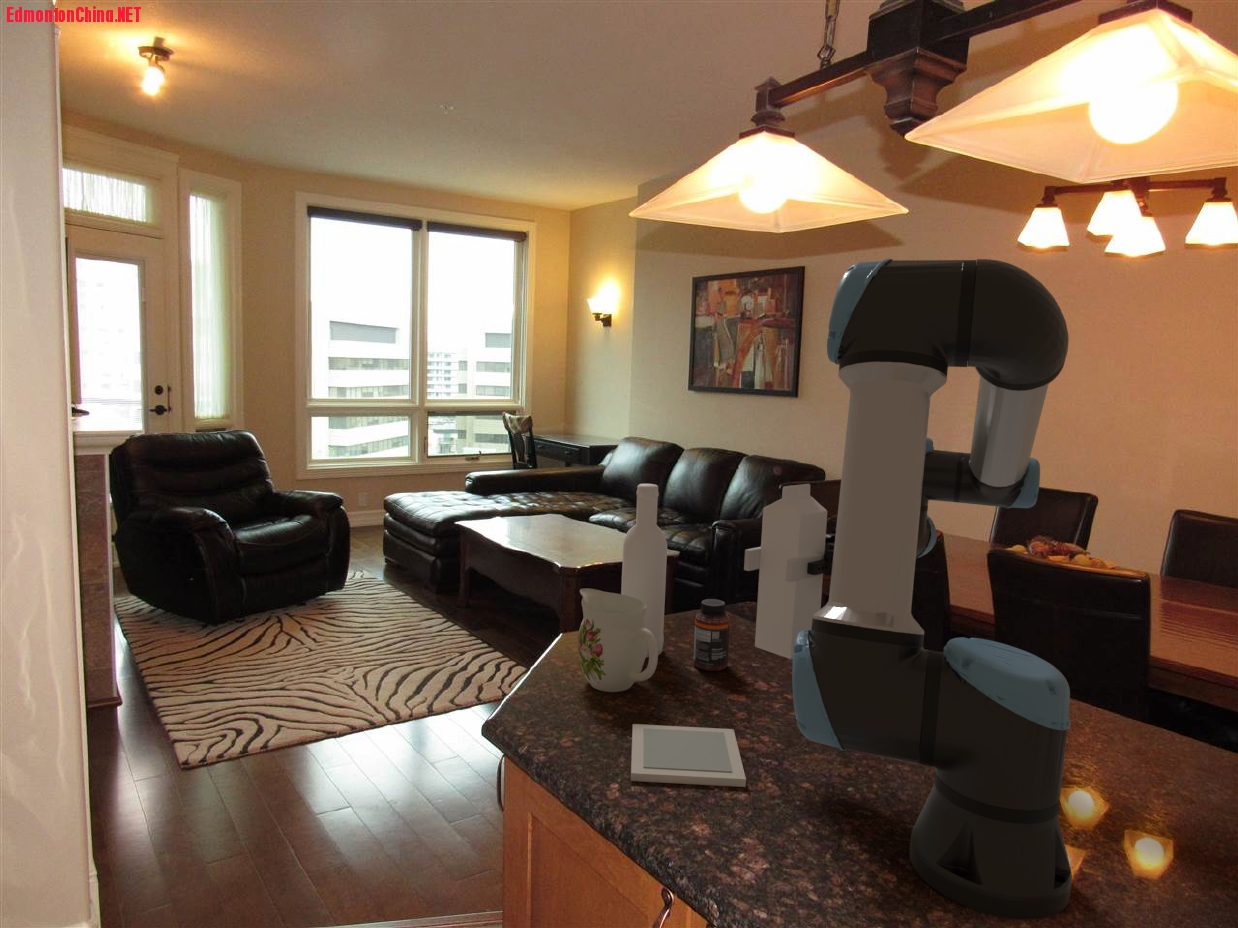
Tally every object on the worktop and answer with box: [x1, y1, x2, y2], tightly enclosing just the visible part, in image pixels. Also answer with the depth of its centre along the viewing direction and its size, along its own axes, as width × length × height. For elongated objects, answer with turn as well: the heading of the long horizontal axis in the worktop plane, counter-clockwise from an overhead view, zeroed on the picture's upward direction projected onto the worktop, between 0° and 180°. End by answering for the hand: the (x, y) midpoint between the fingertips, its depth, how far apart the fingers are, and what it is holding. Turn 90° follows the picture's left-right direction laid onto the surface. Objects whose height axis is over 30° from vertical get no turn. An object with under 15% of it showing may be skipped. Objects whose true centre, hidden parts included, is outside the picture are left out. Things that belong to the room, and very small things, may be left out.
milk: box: [754, 483, 828, 660], centre depth 108 cm, size 6×6×22 cm
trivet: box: [630, 723, 747, 788], centre depth 107 cm, size 14×14×1 cm
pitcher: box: [577, 587, 659, 693], centre depth 130 cm, size 11×18×14 cm, turn 41°
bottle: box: [620, 483, 668, 659], centre depth 146 cm, size 8×8×30 cm
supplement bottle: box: [693, 598, 731, 672], centre depth 140 cm, size 6×6×11 cm
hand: (767, 565), depth 105 cm, fingers closed on milk, 6 cm apart
